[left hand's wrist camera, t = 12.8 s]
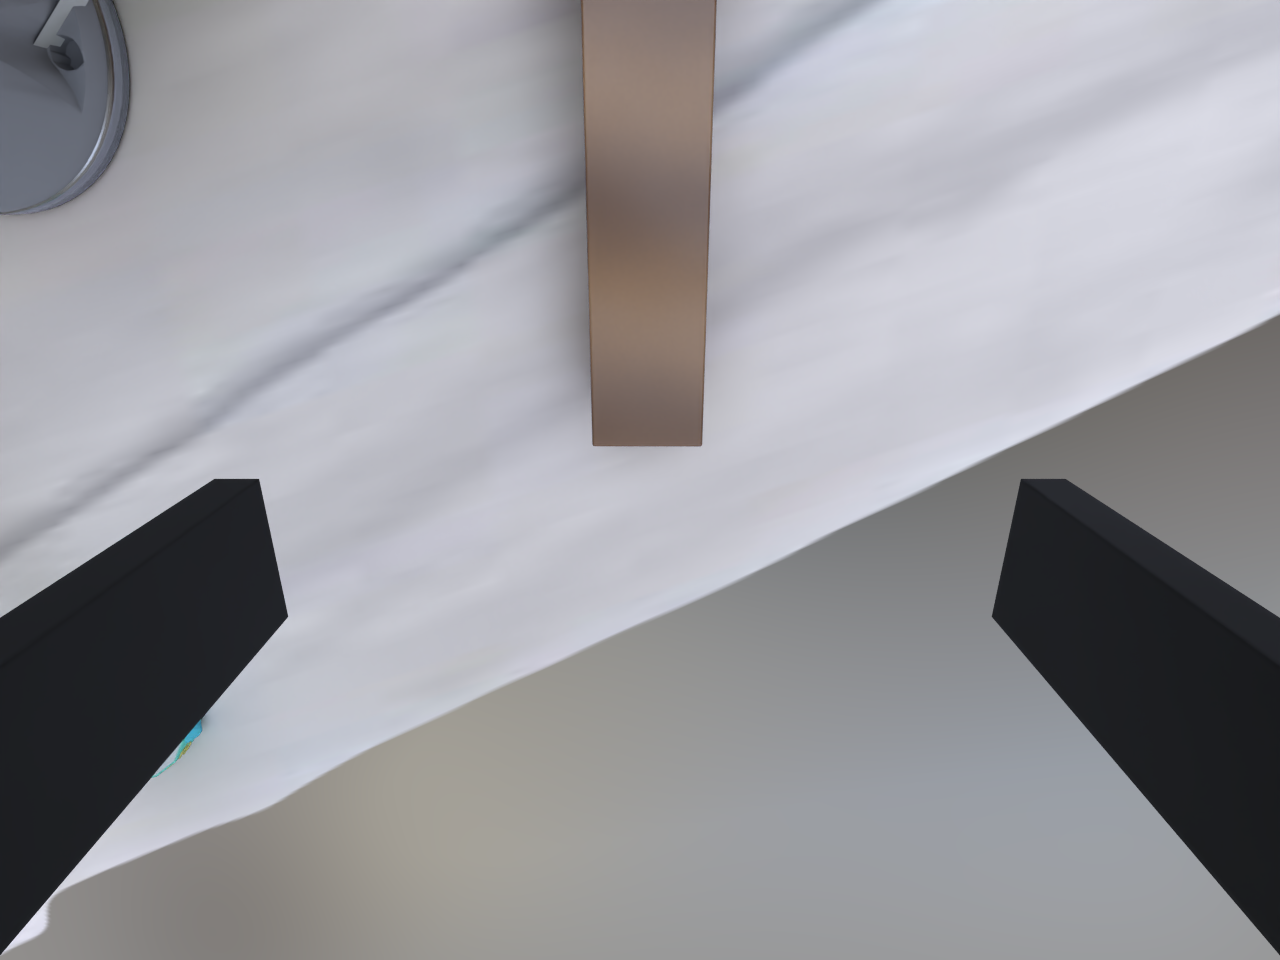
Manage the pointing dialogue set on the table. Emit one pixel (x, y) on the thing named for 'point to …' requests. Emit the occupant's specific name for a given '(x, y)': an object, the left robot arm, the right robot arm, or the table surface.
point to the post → (648, 215)
